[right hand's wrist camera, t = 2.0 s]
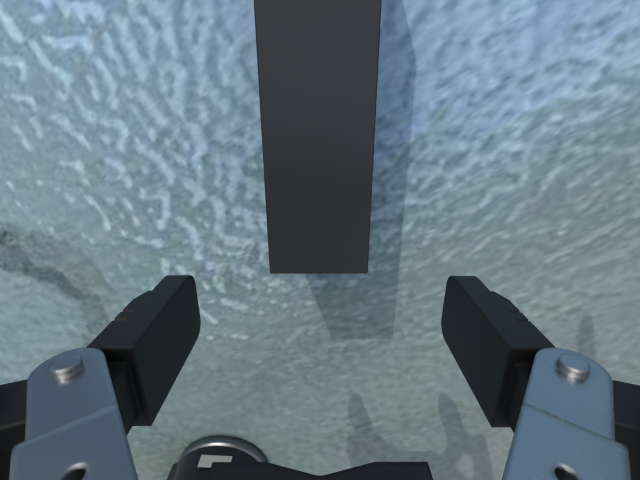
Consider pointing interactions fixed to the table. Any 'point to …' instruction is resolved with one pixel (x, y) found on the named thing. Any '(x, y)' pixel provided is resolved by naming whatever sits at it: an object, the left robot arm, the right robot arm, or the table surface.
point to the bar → (318, 130)
